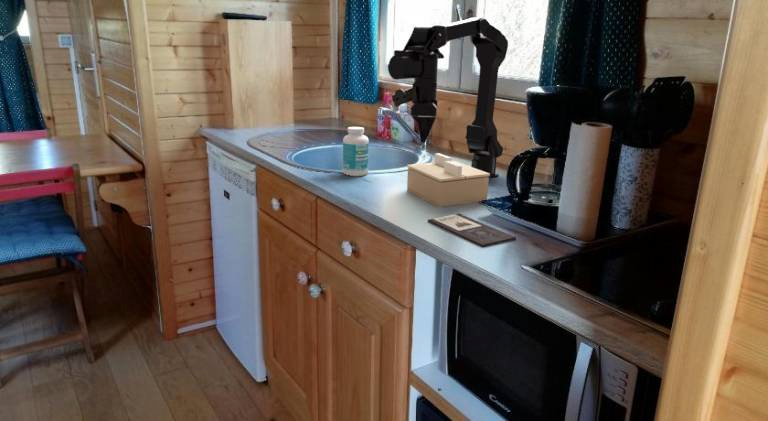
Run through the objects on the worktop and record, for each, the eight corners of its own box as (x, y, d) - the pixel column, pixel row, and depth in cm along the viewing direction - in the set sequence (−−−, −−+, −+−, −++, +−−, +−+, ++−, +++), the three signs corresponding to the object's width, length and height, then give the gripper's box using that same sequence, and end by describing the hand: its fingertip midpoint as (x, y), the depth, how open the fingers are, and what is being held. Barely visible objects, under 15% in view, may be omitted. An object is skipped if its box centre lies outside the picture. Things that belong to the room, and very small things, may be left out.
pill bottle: (358, 178, 164) (358, 130, 160) (337, 174, 168) (337, 128, 163) (373, 173, 170) (373, 127, 166) (352, 169, 174) (352, 124, 169)
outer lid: (430, 164, 153) (430, 153, 152) (464, 178, 140) (465, 166, 139) (407, 167, 150) (407, 155, 149) (440, 181, 136) (440, 168, 136)
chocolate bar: (482, 244, 113) (427, 219, 128) (482, 249, 113) (427, 223, 128) (516, 237, 118) (459, 213, 132) (515, 241, 118) (459, 217, 132)
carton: (451, 185, 158) (453, 163, 156) (487, 200, 145) (488, 177, 143) (407, 190, 152) (407, 168, 150) (439, 206, 139) (440, 182, 137)
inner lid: (453, 162, 156) (454, 151, 156) (489, 176, 143) (490, 163, 142) (431, 164, 153) (431, 153, 153) (466, 178, 140) (467, 166, 139)
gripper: (396, 73, 155) (395, 131, 160) (390, 80, 137) (389, 145, 142) (438, 74, 154) (436, 133, 158) (437, 81, 136) (435, 146, 141)
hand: (423, 139), depth 150 cm, fingers open, 9 cm apart
